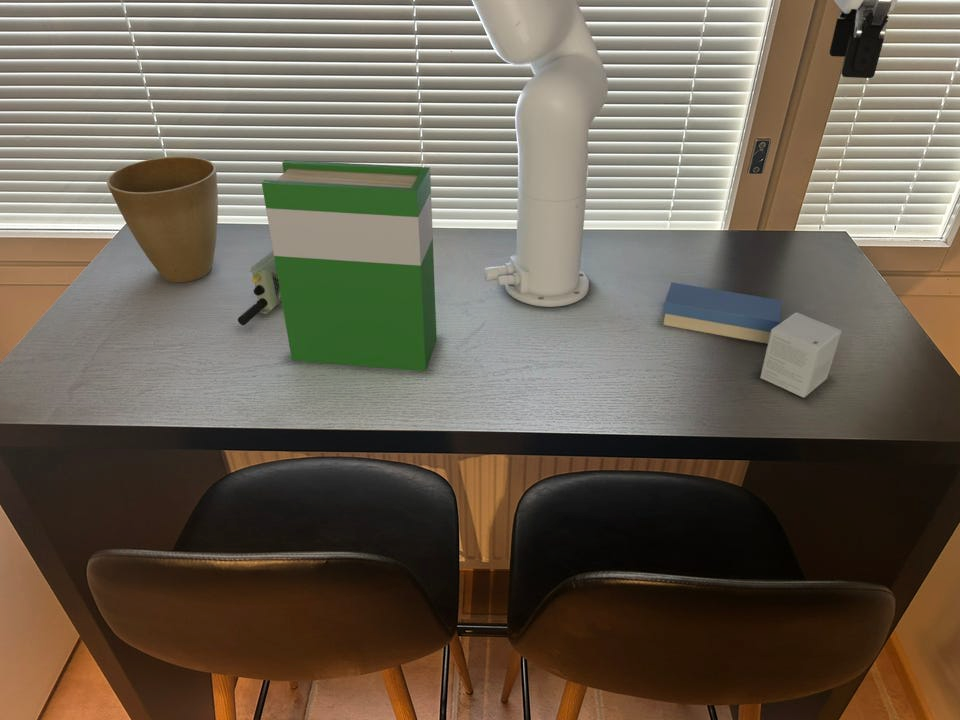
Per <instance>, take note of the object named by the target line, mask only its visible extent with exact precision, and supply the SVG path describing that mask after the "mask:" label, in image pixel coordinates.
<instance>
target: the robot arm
mask: <svg viewBox="0 0 960 720" xmlns="http://www.w3.org/2000/svg"><path fill="white" fill-rule="evenodd" d="M471 2H472V5H473V7H474V9H475V10H476V13H477V16H478V18H479V20H480V22H481V24H482V26H483V29H484V31H485V33H486V36H487V38H488V40H489V43H490V44H491V46H492V48H493V50H494V51H495V53H496V55H497V56H499V58H500V59H502V60H503V61H504V62H505V63H507V64H510V65H513V66H527V65H529V67H530V69H531V71H532V73H533V76H532V77H531V78H530V79H529V80H528V81H527V82H526V84H525V85H524V87H523V88H522V90H521V92H520V94H519V96H518V98H517V102H516V105H515V113H514V115H515V117H514V118H515V119H514V124H515V132H516V134H515V135H516V143H517V165H518V166H517V209H516V210H517V211H516V212H517V213H516V214H517V216H516V219H517V220H516V243H515V244H516V246H515V248H516V249H515V254H514V255H510V256H509V262H506V263H504V264H503V265H501V266H490V267H485V268H483V277H484V280H485V282H489V281H497V284H498V286H499V287H504V288H505V291H506V293H508V295H510V296H511V297H512V298H513V299H515V300H517V301H519V302H521V303H524V304H528V305H531V306H537V307H545V308H554V307H555V308H556V307H563V306H564V307H565V306H568V305H573V304H575V303H577V302H579V301H581V300H582V299H583V298H585V296H587V295H588V292H589V291H590V290H589V289H590V280H589V278H588V276H587V275H586V273H584V272H583V271H582V270H581V263H582V261H581V260H582V250H583V239H584V226H585V214H586V203H587V202H586V201H587V191H588V189H587V187H588V175H589V174H588V173H589V130H590V126H591V124H592V123H593V121H594V120H595V118H596V117H597V116H598V114H599V113H600V112H601V111H602V109H603V107H604V105H605V103H606V100H607V98H608V92H609V81H608V76H607V72H606V70H605V66H604V63H603V61H602V58H601V57H600V53H599V50H598V49H597V46H596V44H595V41H594V39H593V37H592V34H591V32H590V30H589V27H588V24H587V22H586V19H585V18H584V14H583V12H582V10H581V7H580V5H579V3H578V1H577V0H471ZM833 2H834V3H835V5H837V7H838V8H839V13H838V18H836V22H835V26H834V29H833V35H832V39H831V43H830V48H829V55H830V57H838V58H841V57H842V58H844V59H843V65H842V68H841V71H840V72H841V73H840V74H841V76H842V77H843V78H852V79H853V78H855V79H856V78H857V79H872V78H874V76H875V74H876V70H877V67H878V64H879V59H880V55H881V52H882V47H883V44H884V42H885V41H884V40H885V36H886V33H887V24H888V22H889V20H888V19H889V15H888V14H890V13H891V12H893V11H894V10H895V8H896V5H897V3H898V0H833Z"/></svg>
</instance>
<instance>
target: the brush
mask: <svg viewBox="0 0 960 720" xmlns="http://www.w3.org/2000/svg"><path fill="white" fill-rule="evenodd" d="M782 306H783V300H782V299H781V300H780V299H776V298H770V297H764V296H759V295H757V296H756V295H752V294H751V295H750V294H745V293H741V292H740V293H739V292H733V291H728V290H727V291H726V290H721V289H714V288H709V287H702V286H697V285H691V284H684V283H679V282H674V281H673V282H671V281H670V284H669V287H668V290H667V293H666V296H665V300H664V304H663V310H662V314H664V318H663V324H662V325H663V326H667V327H672V328H678V329H685V330H688V331H694V332H701V333H706V334H712V335H715V336H716V335H717V336H722V337H728V338H733V339H740V340H745V341H749V342H756V343H762V344H767V345H768V342H769V338H770V334H771V330H772V329H773V328H774V327H776V326H777V325H779V324H780V323H782V321H781V318H782V308H783V307H782Z"/></svg>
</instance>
